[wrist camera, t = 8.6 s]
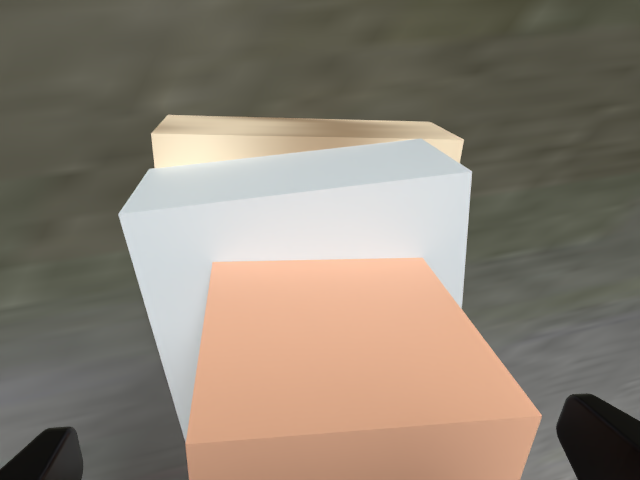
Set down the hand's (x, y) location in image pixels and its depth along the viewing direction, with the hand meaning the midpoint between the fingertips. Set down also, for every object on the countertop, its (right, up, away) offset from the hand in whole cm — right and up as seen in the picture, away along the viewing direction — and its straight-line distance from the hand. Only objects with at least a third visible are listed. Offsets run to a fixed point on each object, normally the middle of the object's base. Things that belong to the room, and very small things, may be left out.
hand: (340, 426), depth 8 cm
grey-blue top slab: (-1, +2, +5) cm, 6 cm away
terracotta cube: (0, +1, +2) cm, 3 cm away
